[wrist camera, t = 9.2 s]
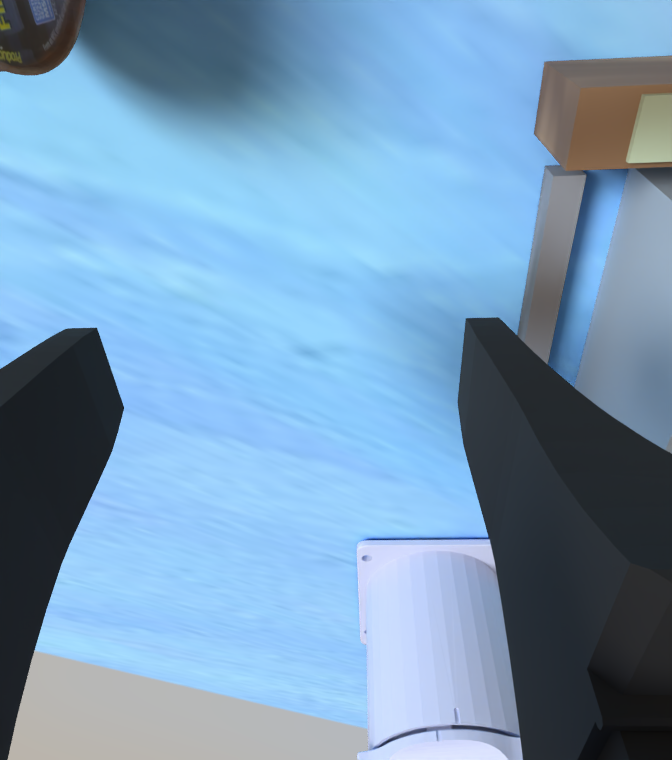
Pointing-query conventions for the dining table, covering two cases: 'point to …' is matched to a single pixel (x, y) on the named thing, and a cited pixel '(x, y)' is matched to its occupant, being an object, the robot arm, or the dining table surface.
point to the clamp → (588, 161)
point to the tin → (37, 34)
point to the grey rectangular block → (635, 313)
